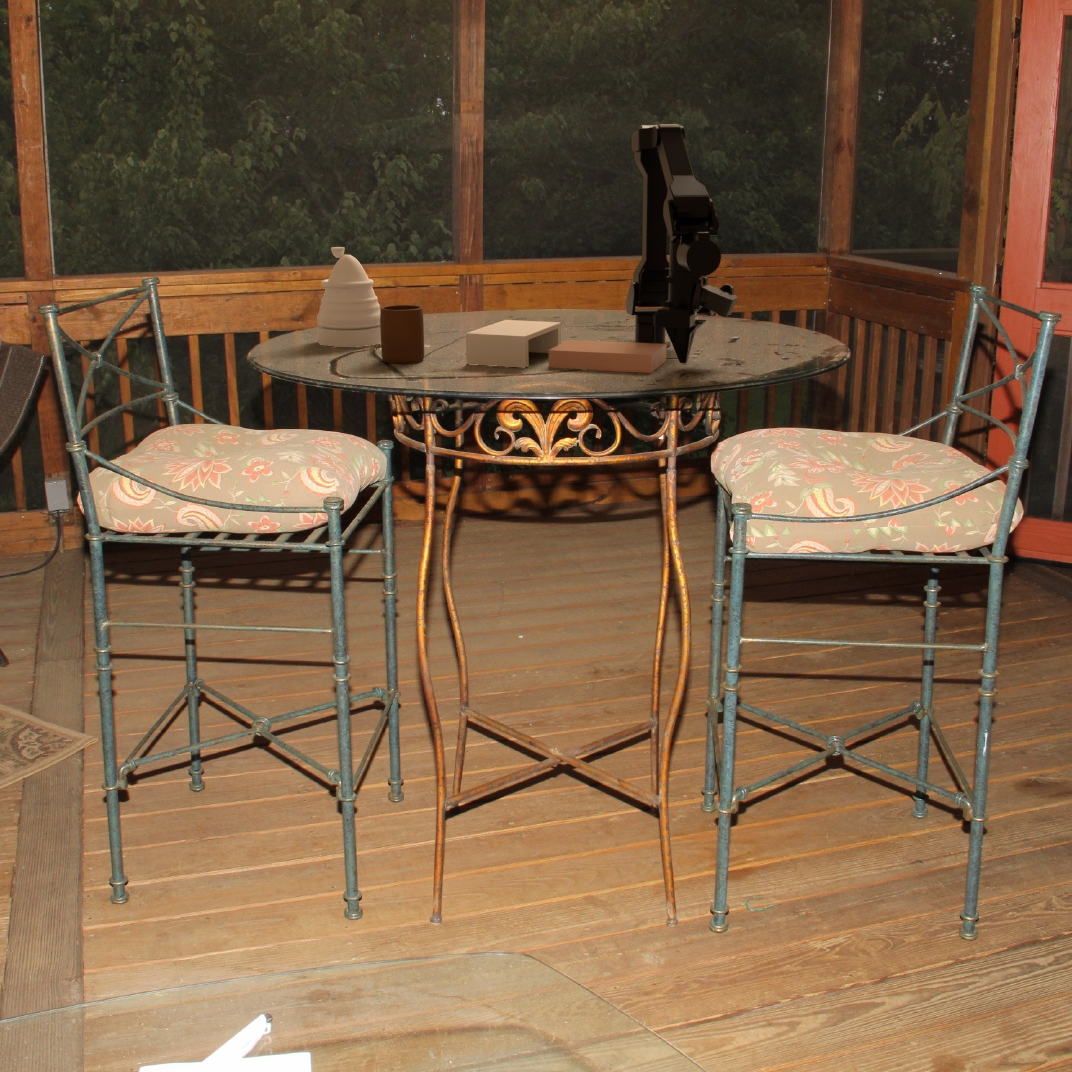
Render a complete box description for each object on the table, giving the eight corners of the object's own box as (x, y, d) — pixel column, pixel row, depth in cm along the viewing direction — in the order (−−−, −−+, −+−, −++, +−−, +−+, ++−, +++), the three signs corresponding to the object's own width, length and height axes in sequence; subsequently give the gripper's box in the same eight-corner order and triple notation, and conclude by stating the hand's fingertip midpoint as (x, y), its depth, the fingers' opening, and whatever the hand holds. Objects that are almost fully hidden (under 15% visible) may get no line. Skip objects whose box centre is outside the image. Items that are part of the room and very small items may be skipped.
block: (568, 359, 229) (568, 339, 228) (666, 363, 224) (666, 343, 223) (548, 370, 219) (548, 350, 217) (651, 375, 213) (651, 354, 212)
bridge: (505, 349, 237) (505, 319, 235) (561, 352, 233) (561, 322, 232) (466, 364, 221) (466, 333, 219) (525, 368, 217) (525, 336, 216)
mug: (379, 354, 232) (376, 302, 230) (420, 353, 234) (418, 301, 231) (383, 365, 221) (380, 310, 218) (426, 363, 222) (424, 309, 220)
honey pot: (306, 346, 242) (300, 249, 237) (336, 336, 254) (331, 244, 248) (368, 349, 238) (364, 251, 233) (395, 339, 250) (391, 245, 245)
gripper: (721, 277, 201) (717, 375, 205) (745, 266, 217) (741, 357, 222) (653, 274, 204) (650, 371, 209) (682, 264, 221) (679, 353, 226)
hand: (683, 362), depth 216 cm, fingers closed
